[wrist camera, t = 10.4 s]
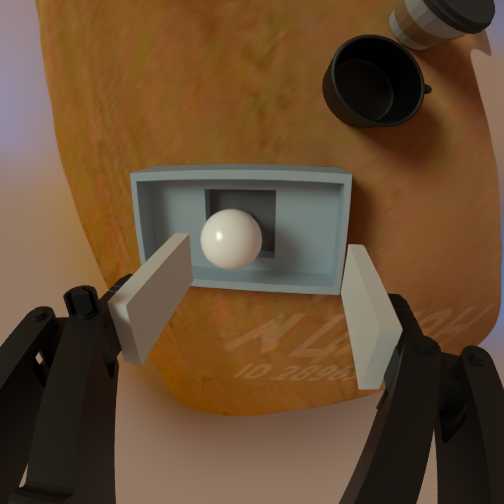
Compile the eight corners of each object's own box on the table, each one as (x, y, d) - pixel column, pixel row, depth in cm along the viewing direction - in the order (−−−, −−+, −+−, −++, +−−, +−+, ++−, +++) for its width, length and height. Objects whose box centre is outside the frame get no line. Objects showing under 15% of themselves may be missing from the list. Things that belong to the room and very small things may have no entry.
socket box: (152, 166, 37) (130, 173, 32) (343, 167, 34) (352, 174, 29) (161, 262, 43) (143, 281, 37) (333, 272, 40) (339, 295, 34)
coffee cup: (410, 68, 28) (469, 40, 14) (367, 17, 26) (403, -36, 12) (449, 43, 25) (511, 16, 11) (409, -5, 23) (454, -52, 9)
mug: (417, 130, 31) (450, 132, 22) (325, 128, 33) (335, 126, 24) (410, 60, 27) (440, 44, 19) (318, 55, 29) (325, 31, 21)
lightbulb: (211, 204, 38) (181, 231, 28) (257, 187, 36) (242, 208, 26) (230, 248, 40) (209, 288, 30) (275, 233, 38) (268, 270, 28)
